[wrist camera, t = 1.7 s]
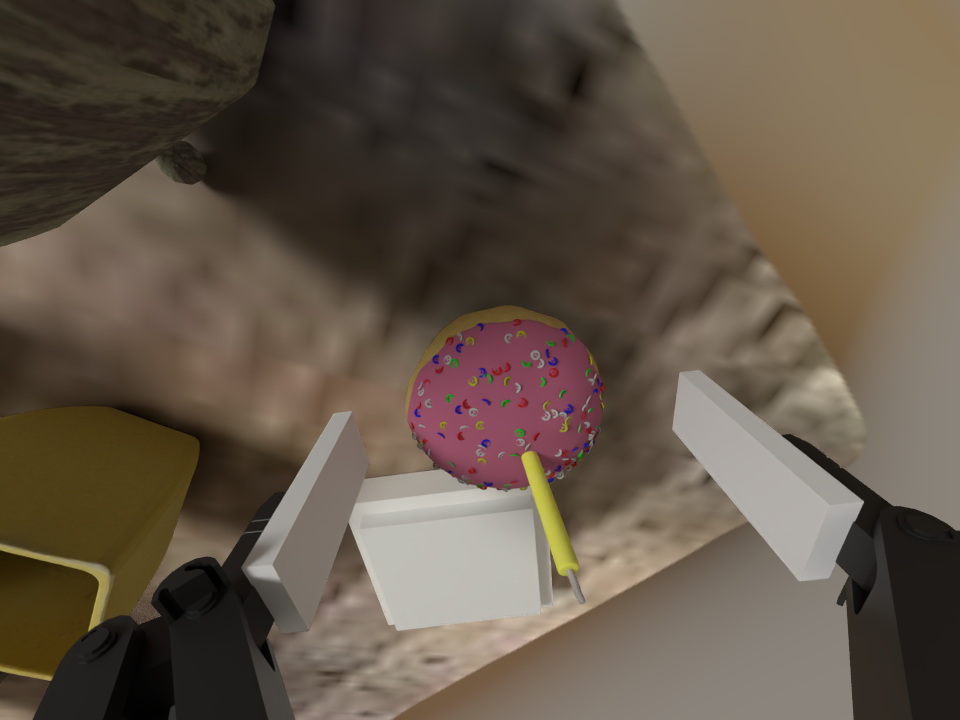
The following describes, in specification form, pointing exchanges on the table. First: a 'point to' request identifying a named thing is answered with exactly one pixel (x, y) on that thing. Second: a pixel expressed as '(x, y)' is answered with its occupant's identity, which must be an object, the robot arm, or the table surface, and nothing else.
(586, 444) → the cupcake
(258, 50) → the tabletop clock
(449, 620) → the pedestal
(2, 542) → the flower pot
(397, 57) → the table surface
